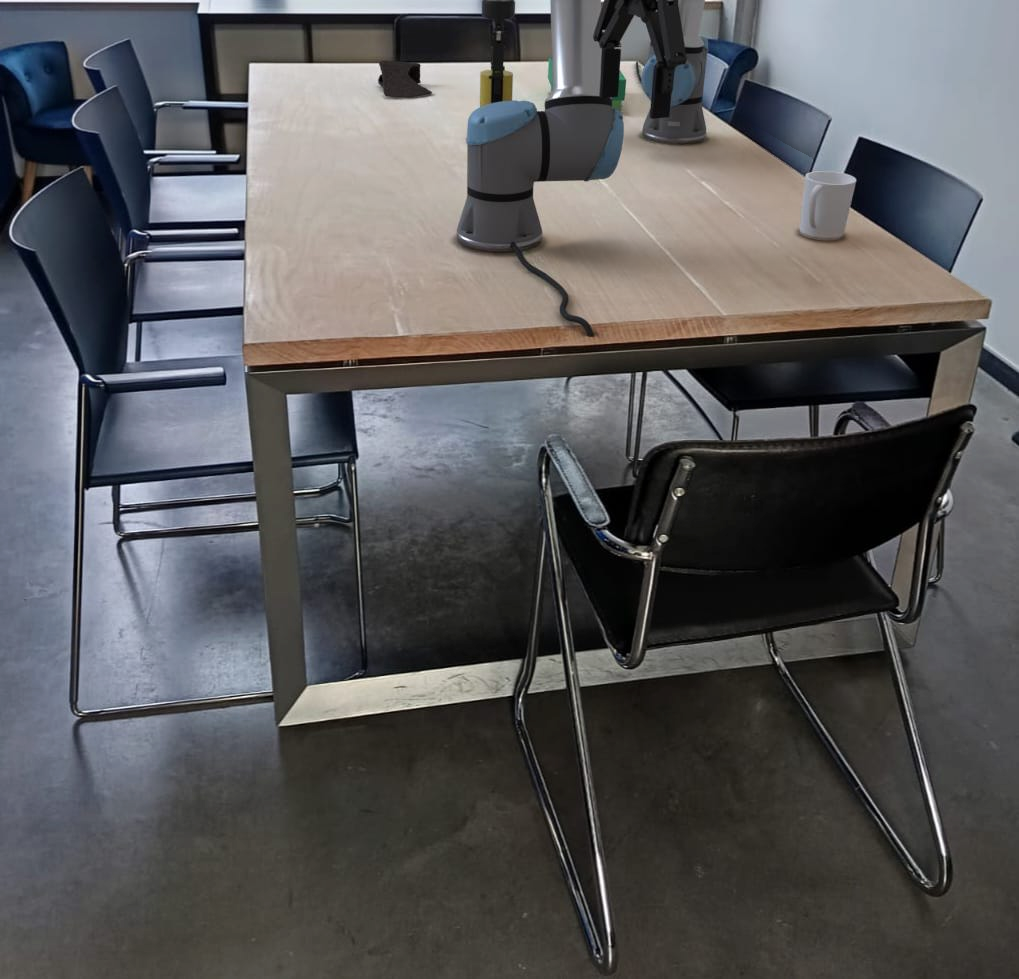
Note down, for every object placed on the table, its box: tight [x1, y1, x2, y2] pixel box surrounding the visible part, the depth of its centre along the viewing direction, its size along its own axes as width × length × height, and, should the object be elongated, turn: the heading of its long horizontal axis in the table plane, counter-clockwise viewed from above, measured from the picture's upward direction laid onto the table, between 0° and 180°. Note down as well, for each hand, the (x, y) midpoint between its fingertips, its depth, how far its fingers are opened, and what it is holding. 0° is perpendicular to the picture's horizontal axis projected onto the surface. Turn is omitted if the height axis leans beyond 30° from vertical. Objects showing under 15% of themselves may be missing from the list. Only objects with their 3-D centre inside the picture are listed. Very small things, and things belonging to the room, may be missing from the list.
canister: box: [479, 69, 514, 108], centre depth 256 cm, size 8×8×8 cm
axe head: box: [377, 59, 433, 99], centre depth 299 cm, size 18×8×15 cm
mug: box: [798, 170, 857, 241], centre depth 199 cm, size 11×9×10 cm
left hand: (633, 107), depth 154 cm, fingers open, 13 cm apart
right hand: (496, 103), depth 258 cm, fingers closed on canister, 8 cm apart
